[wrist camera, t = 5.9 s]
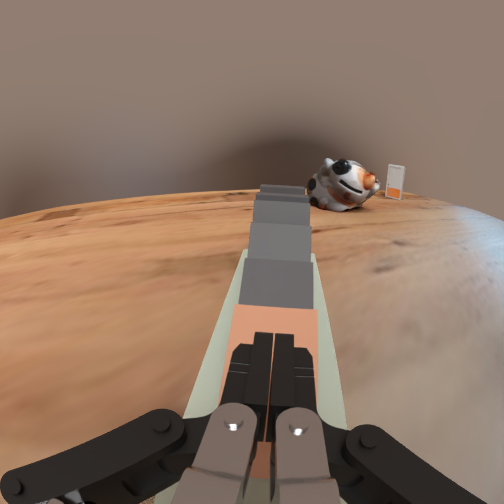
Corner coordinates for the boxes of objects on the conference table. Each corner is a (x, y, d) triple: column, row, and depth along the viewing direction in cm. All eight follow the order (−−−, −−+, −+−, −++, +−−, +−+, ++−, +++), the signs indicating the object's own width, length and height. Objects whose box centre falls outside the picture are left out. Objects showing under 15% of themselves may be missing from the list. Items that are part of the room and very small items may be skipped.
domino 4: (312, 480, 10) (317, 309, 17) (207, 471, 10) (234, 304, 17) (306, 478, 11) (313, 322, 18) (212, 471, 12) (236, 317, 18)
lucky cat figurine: (360, 203, 77) (384, 160, 66) (360, 233, 68) (389, 186, 57) (306, 181, 78) (325, 134, 66) (299, 208, 69) (321, 155, 57)
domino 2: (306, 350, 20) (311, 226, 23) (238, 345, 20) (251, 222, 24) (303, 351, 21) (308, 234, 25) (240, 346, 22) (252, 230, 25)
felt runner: (354, 572, 5) (357, 572, 5) (138, 553, 6) (136, 552, 6) (313, 256, 40) (314, 253, 40) (243, 251, 41) (243, 249, 41)
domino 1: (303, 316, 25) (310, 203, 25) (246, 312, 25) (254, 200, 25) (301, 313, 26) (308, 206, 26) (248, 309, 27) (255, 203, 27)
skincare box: (384, 197, 92) (388, 164, 88) (386, 195, 95) (389, 163, 91) (400, 200, 89) (404, 167, 84) (401, 199, 92) (405, 166, 88)
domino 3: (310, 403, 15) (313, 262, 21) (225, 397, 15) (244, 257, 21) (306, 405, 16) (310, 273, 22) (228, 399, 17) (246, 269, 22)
